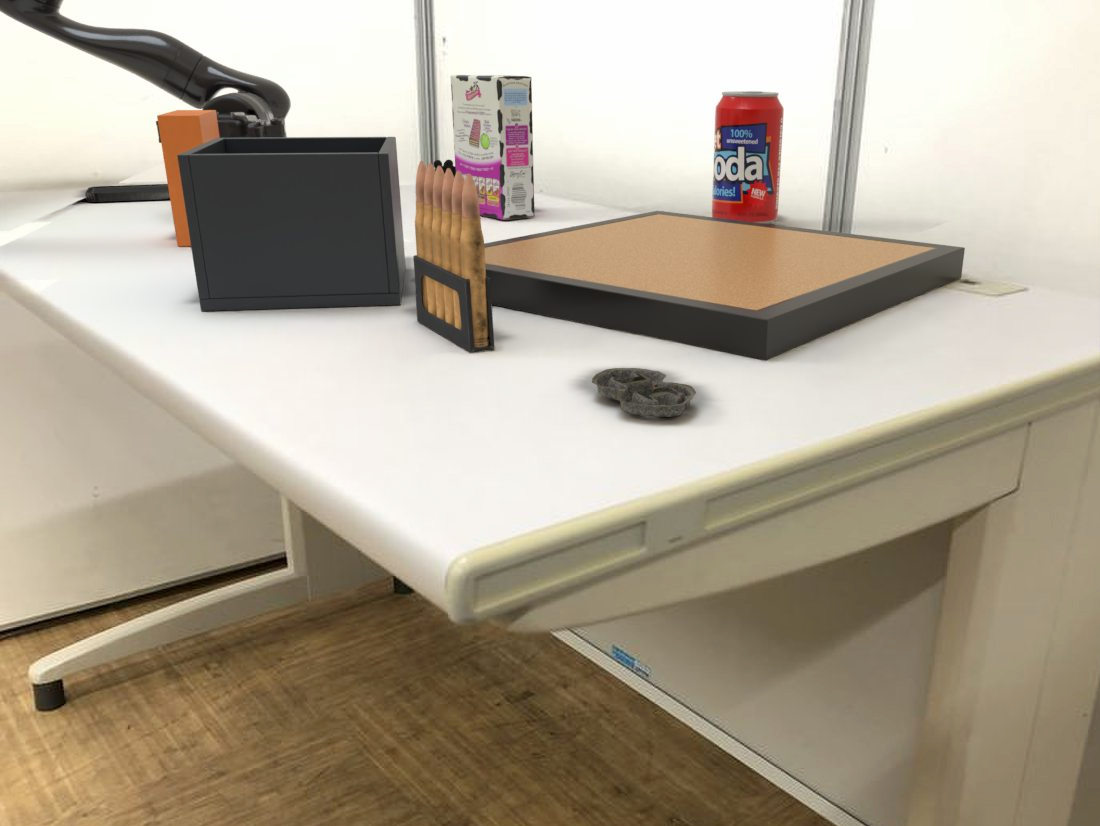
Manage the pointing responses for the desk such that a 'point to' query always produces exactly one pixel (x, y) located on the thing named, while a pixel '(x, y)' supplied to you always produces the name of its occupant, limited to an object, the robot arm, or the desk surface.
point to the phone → (127, 193)
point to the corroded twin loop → (644, 391)
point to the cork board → (713, 278)
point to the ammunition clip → (451, 260)
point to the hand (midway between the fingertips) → (212, 135)
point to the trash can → (294, 222)
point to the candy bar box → (495, 141)
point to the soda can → (747, 156)
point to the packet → (178, 137)
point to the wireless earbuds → (445, 166)
